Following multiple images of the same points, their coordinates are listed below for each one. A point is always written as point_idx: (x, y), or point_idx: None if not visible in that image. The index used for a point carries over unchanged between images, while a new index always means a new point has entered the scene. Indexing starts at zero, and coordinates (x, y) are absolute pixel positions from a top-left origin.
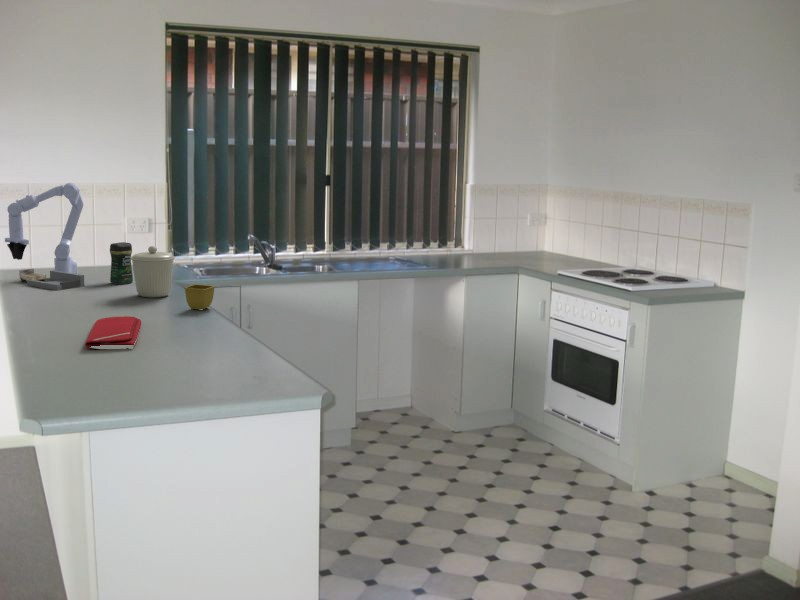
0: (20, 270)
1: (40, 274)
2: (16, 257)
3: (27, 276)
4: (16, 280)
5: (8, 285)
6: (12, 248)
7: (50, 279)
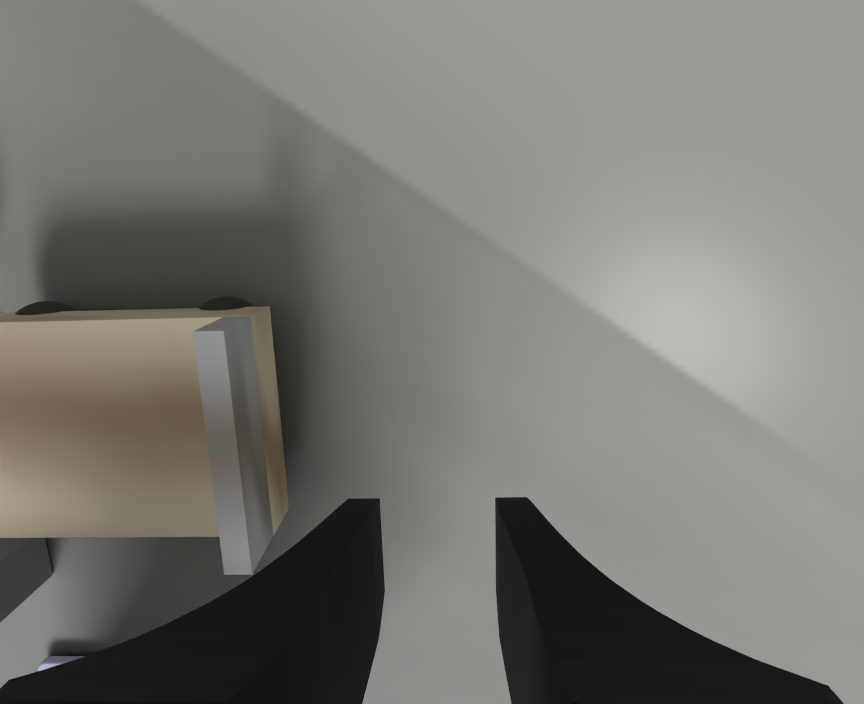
0: (204, 342)
1: (81, 520)
2: (498, 574)
3: (63, 320)
4: (414, 338)
5: (123, 22)
6: (539, 675)
7: (18, 543)
